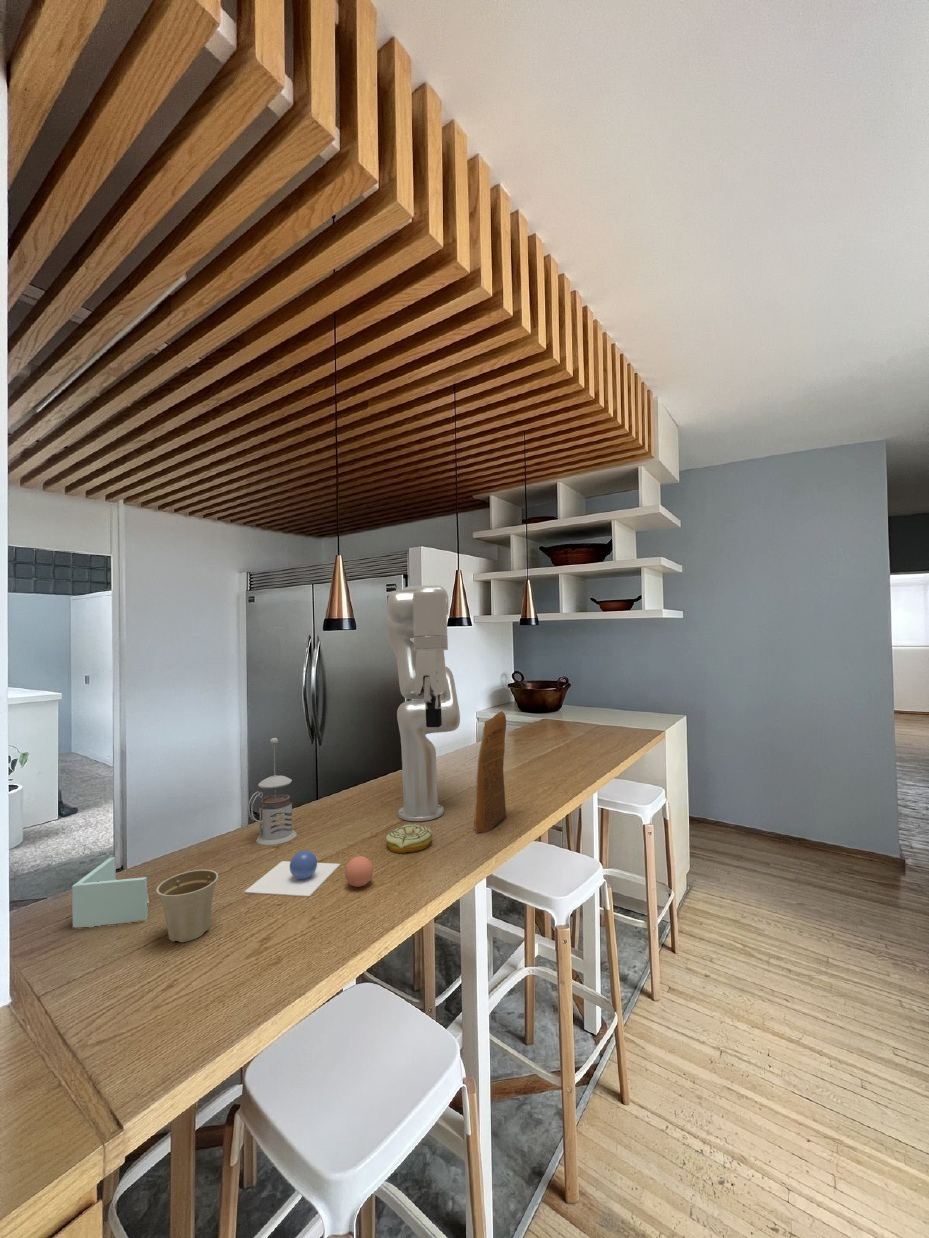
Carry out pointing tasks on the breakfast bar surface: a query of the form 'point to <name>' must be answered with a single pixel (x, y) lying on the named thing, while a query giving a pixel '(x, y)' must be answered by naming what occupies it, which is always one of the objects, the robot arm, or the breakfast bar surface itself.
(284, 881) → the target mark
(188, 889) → the flower pot
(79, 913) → the right angle wall
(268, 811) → the french press
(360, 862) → the pink smooth round ball
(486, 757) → the pancake mix bag
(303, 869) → the blue ball
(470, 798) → the breakfast bar surface
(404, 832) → the decorated donut
